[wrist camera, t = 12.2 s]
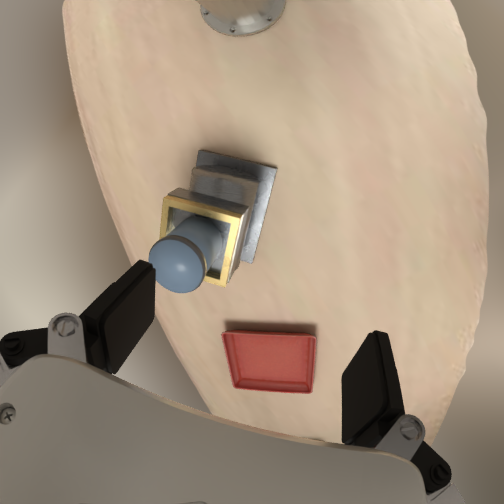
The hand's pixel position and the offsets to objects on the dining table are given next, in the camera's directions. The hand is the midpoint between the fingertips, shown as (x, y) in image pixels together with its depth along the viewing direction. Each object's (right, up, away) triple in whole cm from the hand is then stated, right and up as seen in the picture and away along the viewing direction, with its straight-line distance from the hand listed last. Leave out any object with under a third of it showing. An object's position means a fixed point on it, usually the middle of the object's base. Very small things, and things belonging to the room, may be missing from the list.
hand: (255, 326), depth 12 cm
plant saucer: (+4, -19, +47) cm, 51 cm away
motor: (-4, +10, +34) cm, 35 cm away
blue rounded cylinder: (-6, +4, +22) cm, 24 cm away
